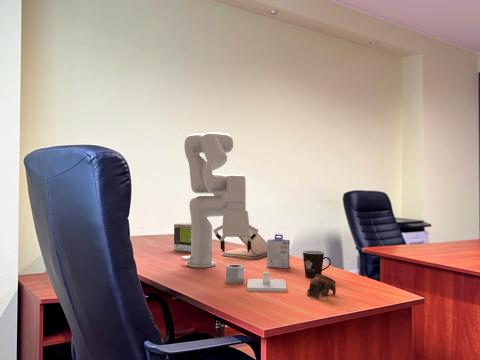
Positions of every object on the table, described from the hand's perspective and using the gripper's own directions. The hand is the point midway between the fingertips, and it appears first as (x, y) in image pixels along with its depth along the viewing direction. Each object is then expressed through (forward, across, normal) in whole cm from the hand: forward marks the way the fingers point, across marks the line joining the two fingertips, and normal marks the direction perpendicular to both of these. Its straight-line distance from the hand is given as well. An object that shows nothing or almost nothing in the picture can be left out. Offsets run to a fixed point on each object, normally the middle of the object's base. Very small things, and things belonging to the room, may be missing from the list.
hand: (235, 251), depth 172 cm
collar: (+12, 0, +1) cm, 12 cm away
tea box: (+10, -30, +74) cm, 80 cm away
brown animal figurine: (+13, +30, -18) cm, 38 cm away
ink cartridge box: (+12, +18, +32) cm, 38 cm away
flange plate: (+12, +12, -6) cm, 18 cm away
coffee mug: (+12, +32, +11) cm, 35 cm away
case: (+11, +2, +62) cm, 63 cm away
